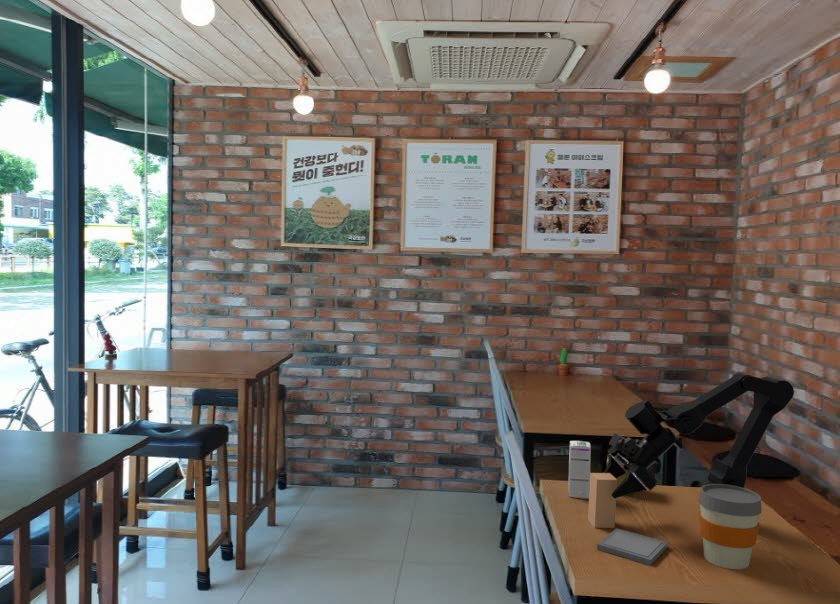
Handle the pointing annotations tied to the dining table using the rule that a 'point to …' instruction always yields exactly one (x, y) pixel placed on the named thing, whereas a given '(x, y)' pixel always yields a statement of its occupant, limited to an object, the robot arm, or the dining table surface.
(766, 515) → the dining table surface
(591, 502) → the block
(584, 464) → the syrup box
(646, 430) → the robot arm
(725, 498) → the reusable coffee cup
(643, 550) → the plate
